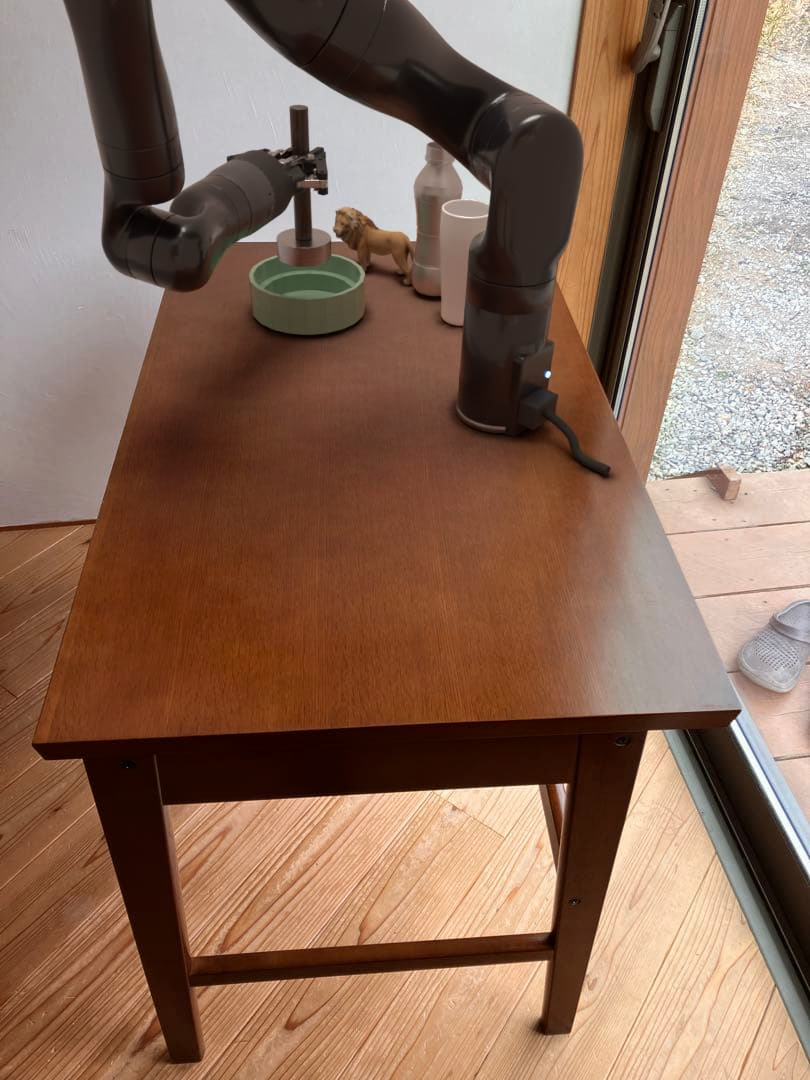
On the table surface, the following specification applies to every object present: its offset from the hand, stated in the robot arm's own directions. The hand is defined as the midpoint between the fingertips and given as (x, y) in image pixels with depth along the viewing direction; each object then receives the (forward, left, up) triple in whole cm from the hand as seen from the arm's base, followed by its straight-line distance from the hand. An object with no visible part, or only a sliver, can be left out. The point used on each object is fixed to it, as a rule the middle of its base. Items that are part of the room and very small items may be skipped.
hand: (311, 153), depth 110 cm
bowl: (-1, +2, -20) cm, 20 cm away
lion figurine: (+1, -14, -20) cm, 24 cm away
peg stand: (-1, +3, -12) cm, 12 cm away
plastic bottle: (-9, -15, -20) cm, 26 cm away
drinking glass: (-17, -11, -20) cm, 28 cm away
